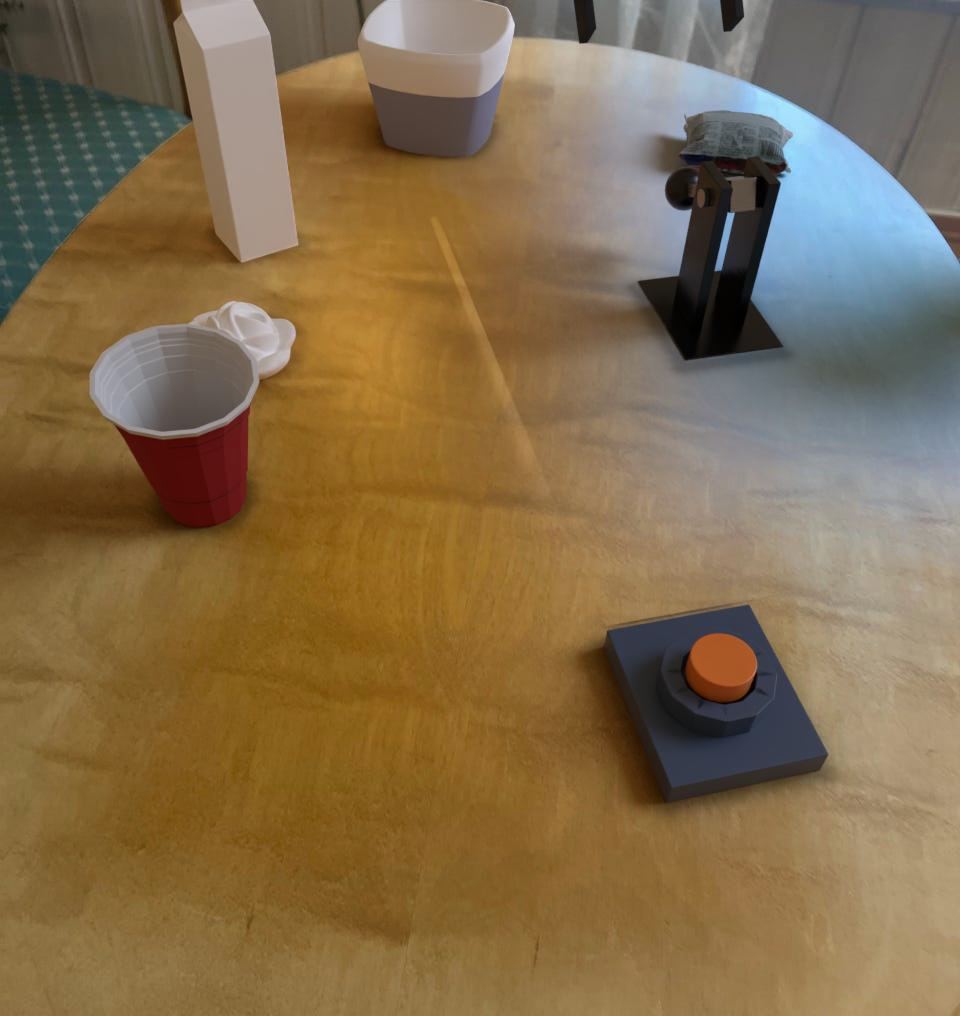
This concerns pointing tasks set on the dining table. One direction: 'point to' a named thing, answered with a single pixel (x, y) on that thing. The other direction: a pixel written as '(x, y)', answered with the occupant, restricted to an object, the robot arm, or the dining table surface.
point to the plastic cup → (182, 415)
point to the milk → (237, 124)
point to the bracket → (719, 294)
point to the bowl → (436, 72)
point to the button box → (710, 708)
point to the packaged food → (735, 141)
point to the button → (720, 667)
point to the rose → (254, 333)
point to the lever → (684, 186)
